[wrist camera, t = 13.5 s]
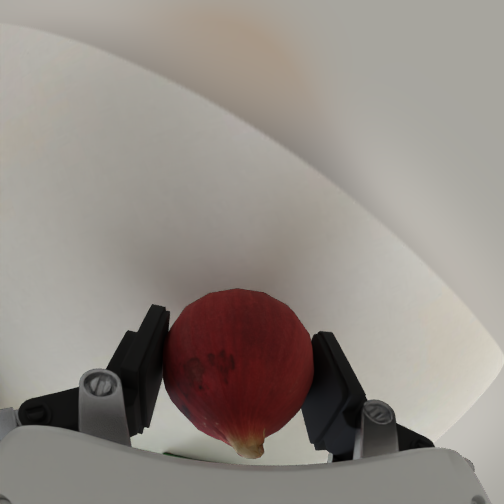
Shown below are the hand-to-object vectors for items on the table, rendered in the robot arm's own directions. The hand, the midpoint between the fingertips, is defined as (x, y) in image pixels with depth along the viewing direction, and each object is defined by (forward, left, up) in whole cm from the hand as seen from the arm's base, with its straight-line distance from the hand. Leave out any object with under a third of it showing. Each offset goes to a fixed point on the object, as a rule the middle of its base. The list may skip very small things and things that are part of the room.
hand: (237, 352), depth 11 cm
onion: (0, 0, -3) cm, 3 cm away
